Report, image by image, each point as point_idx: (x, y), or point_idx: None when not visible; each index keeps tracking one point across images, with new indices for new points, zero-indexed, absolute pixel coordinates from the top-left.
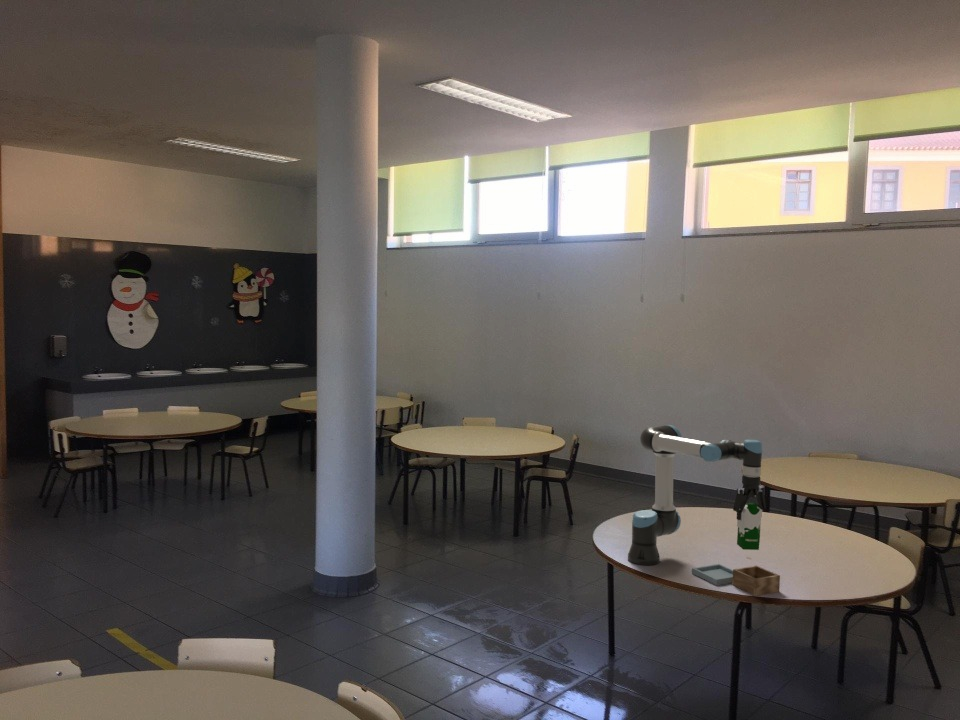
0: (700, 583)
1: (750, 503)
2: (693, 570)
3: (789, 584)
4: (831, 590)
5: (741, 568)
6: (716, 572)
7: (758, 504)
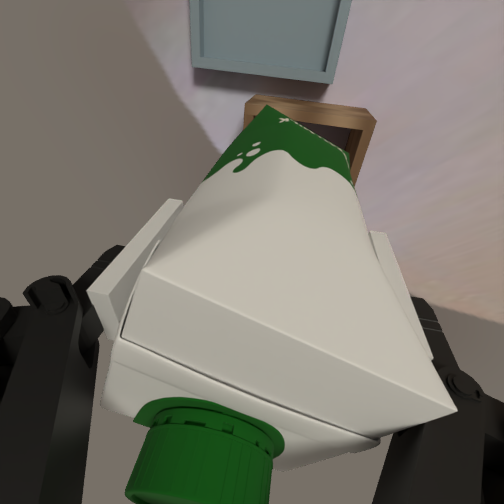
0: (156, 14)
1: (184, 500)
2: None
3: (424, 190)
4: (463, 271)
5: (285, 114)
6: None
7: (376, 497)
